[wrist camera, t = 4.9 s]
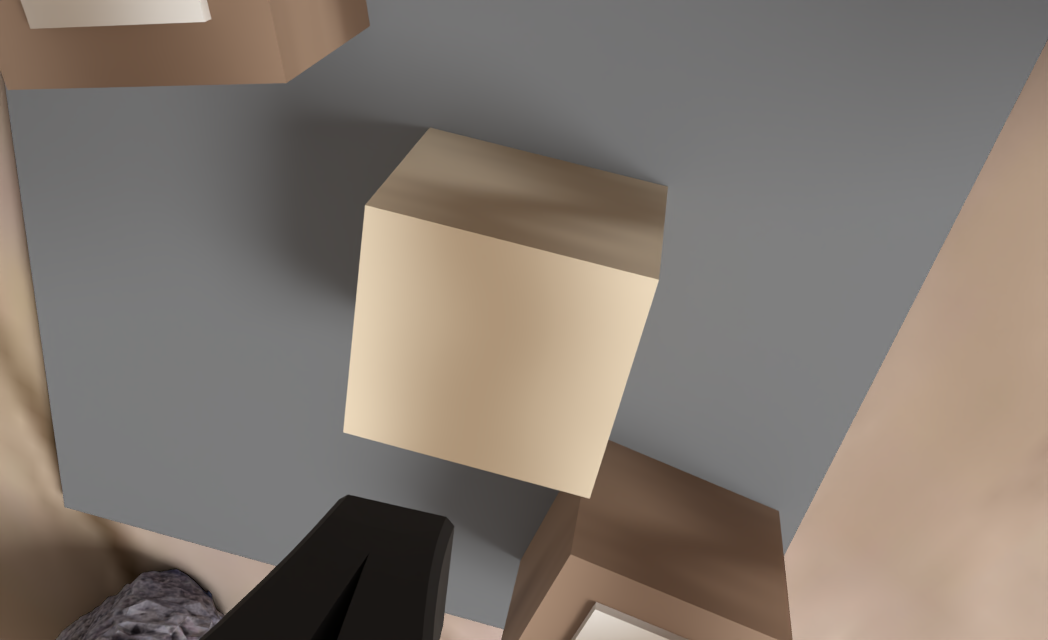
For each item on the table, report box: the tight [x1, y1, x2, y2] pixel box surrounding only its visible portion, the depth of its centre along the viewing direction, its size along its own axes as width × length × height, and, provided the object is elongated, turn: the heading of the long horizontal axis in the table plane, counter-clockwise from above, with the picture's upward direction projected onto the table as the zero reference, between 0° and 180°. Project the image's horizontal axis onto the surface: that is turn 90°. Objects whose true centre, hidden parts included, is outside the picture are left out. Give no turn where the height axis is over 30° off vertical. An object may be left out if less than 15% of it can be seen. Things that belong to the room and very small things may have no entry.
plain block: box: [343, 128, 668, 499], centre depth 17 cm, size 5×5×4 cm
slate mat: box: [5, 0, 1048, 629], centre depth 19 cm, size 20×24×1 cm
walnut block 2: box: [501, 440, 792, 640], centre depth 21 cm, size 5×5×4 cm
